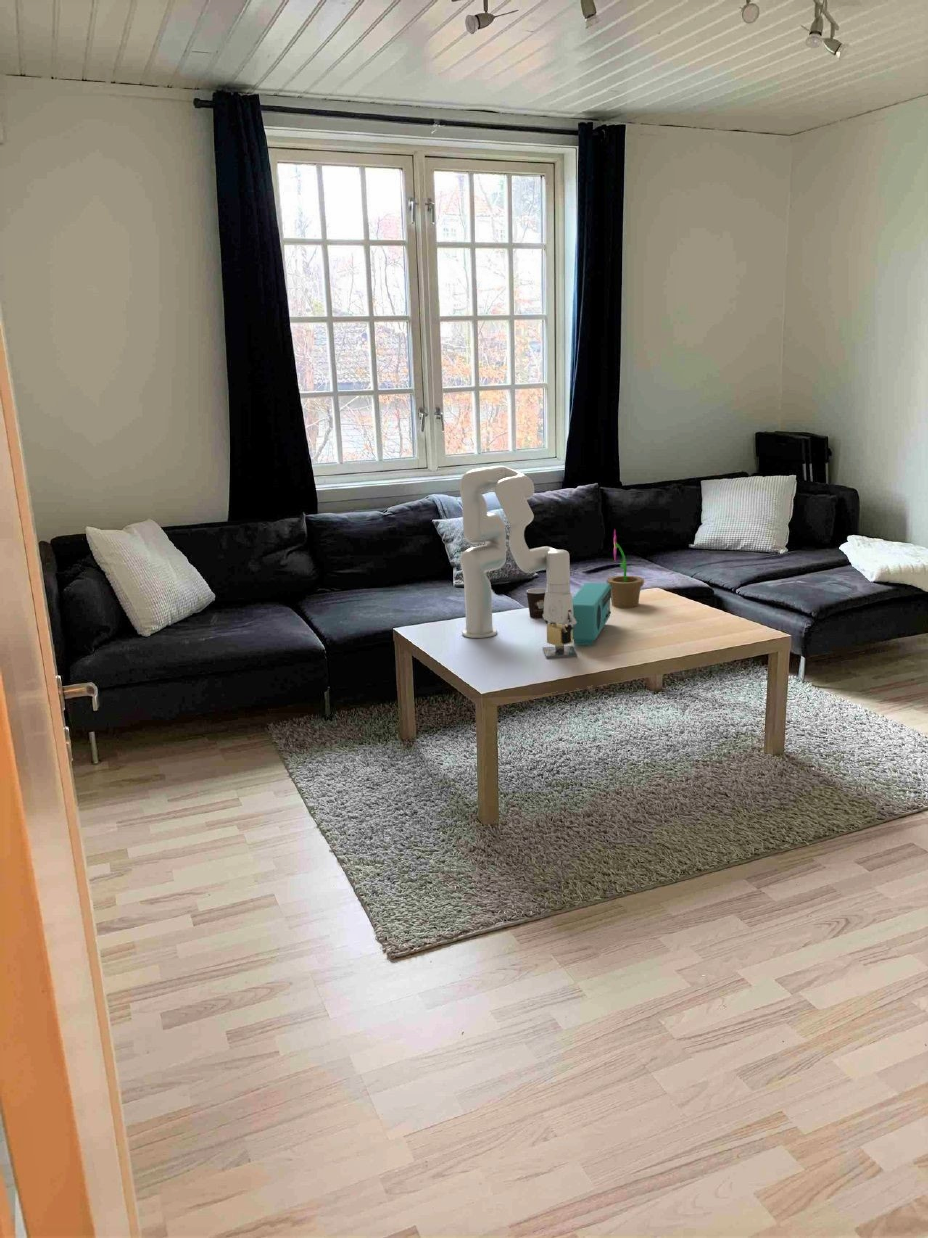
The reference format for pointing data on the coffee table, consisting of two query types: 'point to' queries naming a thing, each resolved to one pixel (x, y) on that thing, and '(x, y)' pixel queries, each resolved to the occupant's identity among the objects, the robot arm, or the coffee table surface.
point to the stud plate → (559, 652)
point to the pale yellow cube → (556, 634)
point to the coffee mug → (536, 602)
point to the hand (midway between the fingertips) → (559, 640)
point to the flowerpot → (624, 585)
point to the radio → (590, 611)
